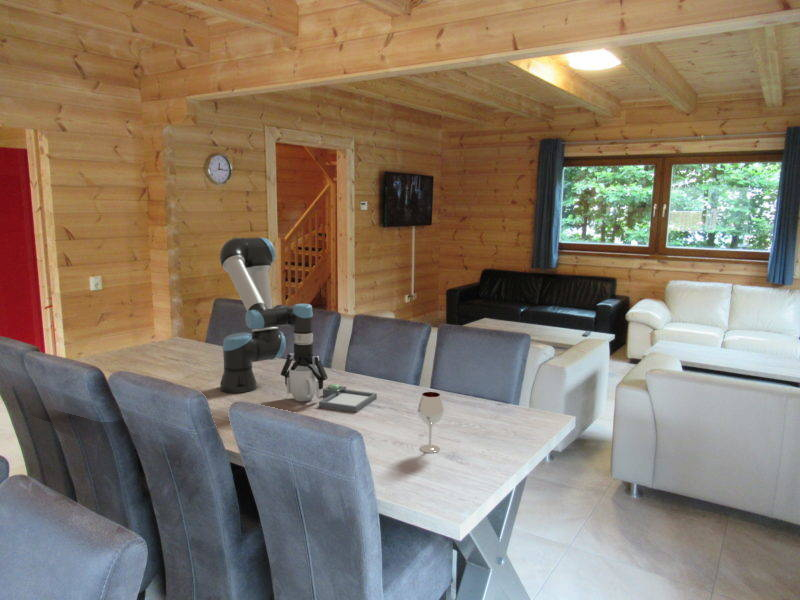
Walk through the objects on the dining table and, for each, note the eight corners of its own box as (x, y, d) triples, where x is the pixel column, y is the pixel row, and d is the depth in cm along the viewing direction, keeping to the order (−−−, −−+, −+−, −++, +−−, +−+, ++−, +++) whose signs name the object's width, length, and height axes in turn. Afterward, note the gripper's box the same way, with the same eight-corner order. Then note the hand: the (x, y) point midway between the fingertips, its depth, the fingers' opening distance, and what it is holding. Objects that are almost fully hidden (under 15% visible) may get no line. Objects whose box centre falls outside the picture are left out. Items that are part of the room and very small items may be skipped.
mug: (326, 403, 231) (325, 371, 229) (300, 408, 225) (299, 375, 223) (310, 393, 243) (309, 363, 241) (285, 398, 237) (284, 366, 235)
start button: (327, 391, 241) (327, 385, 240) (332, 388, 244) (332, 383, 244) (336, 392, 239) (336, 387, 239) (341, 389, 243) (341, 384, 242)
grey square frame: (322, 396, 240) (322, 389, 240) (331, 391, 246) (331, 384, 246) (338, 398, 237) (338, 391, 237) (345, 393, 244) (345, 386, 243)
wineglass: (415, 444, 190) (416, 390, 187) (440, 444, 190) (441, 390, 188) (418, 454, 182) (419, 398, 179) (444, 453, 182) (446, 398, 180)
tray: (319, 407, 226) (318, 401, 226) (341, 393, 243) (341, 388, 243) (356, 412, 220) (356, 407, 220) (376, 398, 238) (376, 393, 237)
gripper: (271, 342, 233) (272, 393, 235) (326, 347, 223) (327, 401, 226) (281, 338, 240) (282, 389, 242) (335, 343, 230) (336, 395, 233)
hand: (304, 394), depth 234 cm, fingers open, 13 cm apart
